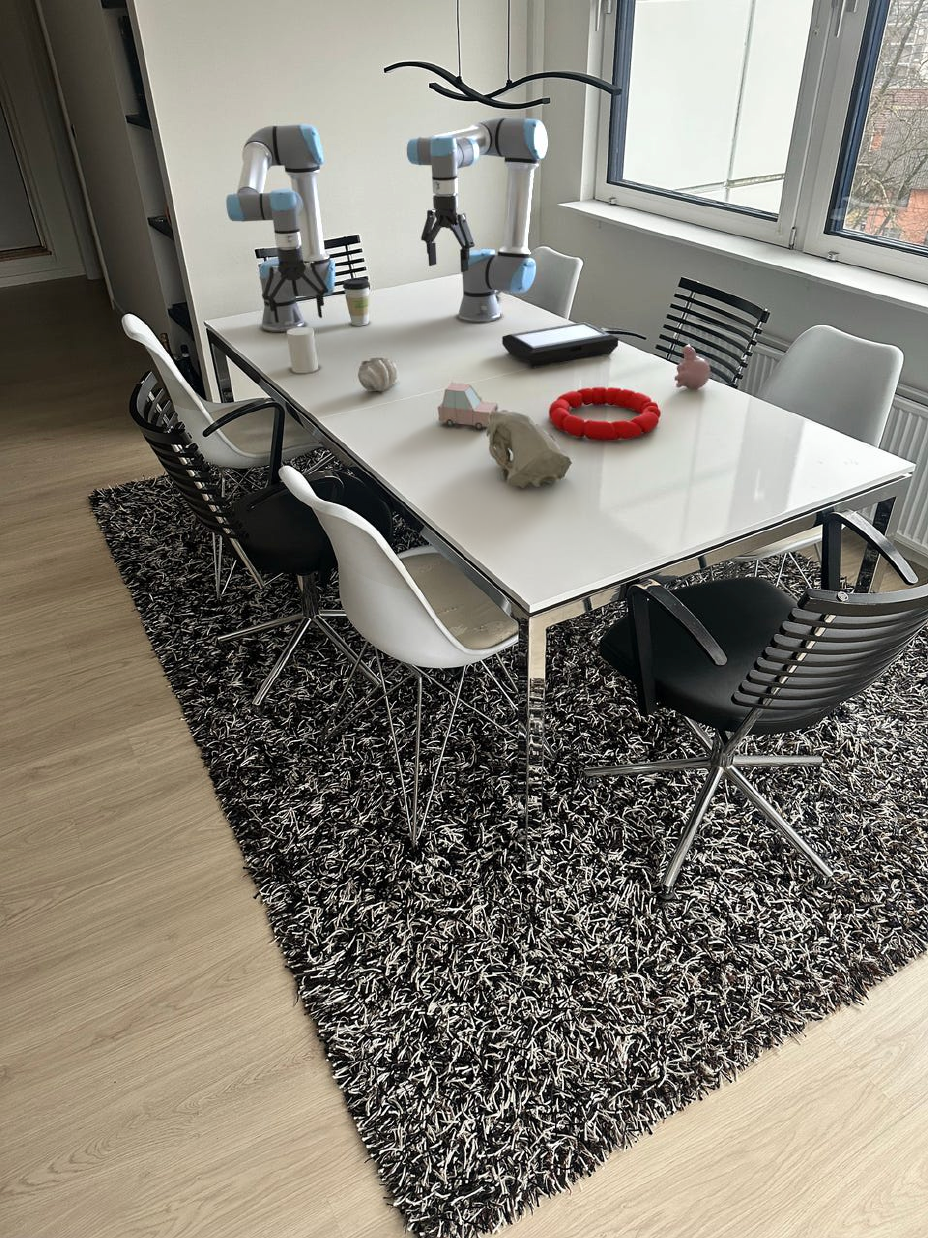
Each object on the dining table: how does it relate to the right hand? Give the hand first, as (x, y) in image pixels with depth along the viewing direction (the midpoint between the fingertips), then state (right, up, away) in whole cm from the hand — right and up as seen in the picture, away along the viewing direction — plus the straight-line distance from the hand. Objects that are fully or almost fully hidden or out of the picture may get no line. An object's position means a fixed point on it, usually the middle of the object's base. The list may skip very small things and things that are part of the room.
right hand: (448, 268), depth 280 cm
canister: (-47, -30, +8) cm, 56 cm away
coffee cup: (-33, -2, +48) cm, 58 cm away
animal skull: (+19, -74, -59) cm, 96 cm away
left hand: (-47, -17, -1) cm, 50 cm away
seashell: (-21, -41, -11) cm, 47 cm away
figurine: (+72, -42, -17) cm, 85 cm away
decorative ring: (+43, -56, -36) cm, 80 cm away
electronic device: (+36, -23, +13) cm, 45 cm away
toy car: (+6, -56, -34) cm, 66 cm away
